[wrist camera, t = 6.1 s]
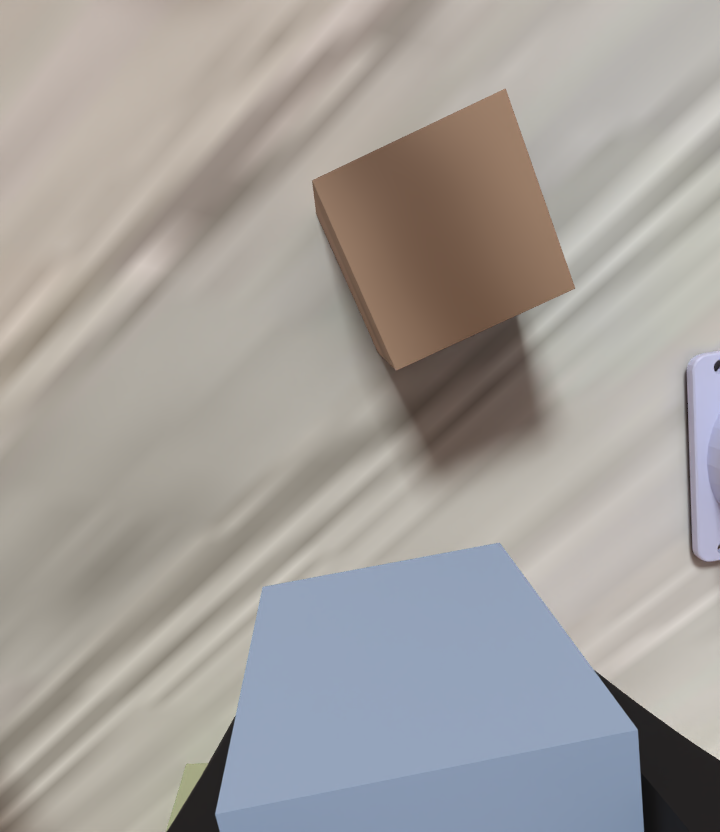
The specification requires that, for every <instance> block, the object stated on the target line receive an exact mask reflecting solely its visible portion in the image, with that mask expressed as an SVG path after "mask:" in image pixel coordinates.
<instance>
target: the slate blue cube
mask: <svg viewBox="0 0 720 832" xmlns="http://www.w3.org/2000/svg"><path fill="white" fill-rule="evenodd" d="M215 816H216V819H217V823H218V827H219V830H220V832H644V823H643V806H642V790H641V773H640V757H639V740H638V729H637V728H636V727H635V725H634V724H633V723H632V721H631V720H630V718H629V717H628V716H627V714H626V713H625V712H624V710H623V709H622V708H621V706H620V705H619V704H618V702H617V701H616V700H615V698H614V697H613V695H612V694H611V693H610V691H609V690H608V689H607V687H606V686H605V685H604V683H603V682H602V681H601V679H600V678H599V677H598V675H597V674H596V672H595V671H594V670H593V668H592V667H591V666H590V664H589V663H588V662H587V660H586V659H585V658H584V656H583V655H582V654H581V652H580V651H579V649H578V648H577V647H576V645H575V644H574V643H573V641H572V640H571V639H570V637H569V636H568V635H567V633H566V632H565V631H564V629H563V628H562V626H561V625H560V624H559V622H558V621H557V620H556V618H555V617H554V616H553V614H552V613H551V612H550V610H549V609H548V608H547V606H546V605H545V603H544V602H543V601H542V599H541V598H540V597H539V595H538V594H537V593H536V591H535V590H534V589H533V587H532V586H531V585H530V583H529V582H528V580H527V579H526V578H525V576H524V575H523V574H522V572H521V571H520V570H519V568H518V567H517V566H516V564H515V563H514V562H513V560H512V559H511V557H510V556H509V555H508V553H507V552H506V551H505V549H504V548H503V547H502V545H501V544H500V543H496V544H490V545H485V546H480V547H474V548H469V549H463V550H458V551H453V552H447V553H442V554H437V555H431V556H426V557H421V558H415V559H410V560H405V561H399V562H394V563H388V564H383V565H378V566H372V567H367V568H362V569H356V570H351V571H346V572H340V573H335V574H330V575H324V576H319V577H313V578H308V579H303V580H297V581H292V582H287V583H281V584H276V585H271V586H265V587H263V588H262V593H261V598H260V602H259V607H258V612H257V617H256V622H255V626H254V631H253V636H252V641H251V645H250V650H249V655H248V660H247V665H246V669H245V674H244V679H243V684H242V688H241V693H240V698H239V703H238V708H237V712H236V717H235V722H234V727H233V731H232V736H231V741H230V746H229V750H228V755H227V760H226V765H225V770H224V774H223V779H222V784H221V789H220V793H219V798H218V803H217V808H216V813H215Z"/></svg>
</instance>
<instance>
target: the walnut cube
mask: <svg viewBox="0 0 720 832" xmlns="http://www.w3.org/2000/svg"><path fill="white" fill-rule="evenodd" d="M312 183H313V191H314V199H315V207H316V214H317V217H318V219H319V221H320V223H321V226H322V228H323V230H324V232H325V235H326V237H327V239H328V241H329V244H330V246H331V248H332V250H333V253H334V255H335V257H336V259H337V262H338V264H339V266H340V268H341V270H342V273H343V275H344V277H345V279H346V282H347V284H348V286H349V288H350V291H351V293H352V295H353V297H354V300H355V302H356V304H357V306H358V309H359V311H360V313H361V315H362V318H363V320H364V322H365V324H366V327H367V329H368V331H369V333H370V336H371V338H372V340H373V342H374V345H375V347H376V349H377V351H378V353H379V354H380V355H381V356H382V357H383V358H384V359H385V360H386V361H387V362H388V363H389V364H390V365H391V366H392V367H393V368H394V369H395V370H396V371H397V370H399V369H401V368H403V367H405V366H408V365H410V364H412V363H414V362H416V361H418V360H421V359H423V358H425V357H427V356H429V355H431V354H434V353H436V352H438V351H440V350H442V349H445V348H447V347H449V346H451V345H453V344H455V343H458V342H460V341H462V340H464V339H466V338H468V337H471V336H473V335H475V334H477V333H479V332H482V331H484V330H486V329H488V328H490V327H492V326H495V325H497V324H499V323H501V322H503V321H505V320H508V319H510V318H512V317H514V316H516V315H518V314H521V313H523V312H525V311H527V310H529V309H532V308H534V307H536V306H538V305H540V304H542V303H545V302H547V301H549V300H551V299H553V298H555V297H558V296H560V295H562V294H564V293H566V292H569V291H571V290H573V289H575V286H574V284H573V281H572V278H571V275H570V272H569V269H568V266H567V263H566V261H565V258H564V255H563V252H562V249H561V246H560V243H559V240H558V238H557V235H556V232H555V229H554V226H553V223H552V220H551V218H550V215H549V212H548V209H547V206H546V203H545V200H544V197H543V195H542V192H541V189H540V186H539V183H538V180H537V177H536V175H535V172H534V169H533V166H532V163H531V160H530V157H529V154H528V152H527V149H526V146H525V143H524V140H523V137H522V134H521V131H520V129H519V126H518V123H517V120H516V117H515V114H514V111H513V109H512V106H511V103H510V100H509V97H508V94H507V91H506V89H503V90H501V91H499V92H497V93H495V94H493V95H491V96H489V97H487V98H485V99H482V100H480V101H478V102H476V103H474V104H472V105H470V106H468V107H466V108H464V109H461V110H459V111H457V112H455V113H453V114H451V115H449V116H447V117H445V118H442V119H440V120H438V121H436V122H434V123H432V124H430V125H428V126H426V127H424V128H421V129H419V130H417V131H415V132H413V133H411V134H409V135H407V136H405V137H402V138H400V139H398V140H396V141H394V142H392V143H390V144H388V145H386V146H384V147H381V148H379V149H377V150H375V151H373V152H371V153H369V154H367V155H365V156H363V157H360V158H358V159H356V160H354V161H352V162H350V163H348V164H346V165H344V166H341V167H339V168H337V169H335V170H333V171H331V172H329V173H327V174H325V175H323V176H320V177H318V178H316V179H314V180H312Z"/></svg>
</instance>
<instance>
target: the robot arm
mask: <svg viewBox="0 0 720 832" xmlns="http://www.w3.org/2000/svg"><path fill="white" fill-rule="evenodd" d="M718 360H719V361H720V351H714V352H708V353H703V354H699V355H696V356H694V357H693V358H692V359H691V360H690V362H689V363H688V366H687V391H688V423H689V454H690V486H691V517H692V548H693V553H694V554H695V555H696V556H697V557H698V558H700V559H701V560H703V561H705V562H712V561H718V560H720V549H718V546H719V545H720V368H719V369H718V370H717V371H716V372H715V371H714V364H715V363H716V362H717V361H718ZM717 549H718V550H717ZM593 670H594V669H593ZM594 671H595V670H594ZM595 672H596V671H595ZM596 674H597V675H598V677H599V678H600V679H601V681H602V682H603V683H604V685H605V686H606V687H607V689H608V690H609V691H610V693H611V694H612V695H613V697H614V698H615V700H616V701H617V702H618V704H619V705H620V706H621V708H622V709H623V710H624V712H625V713H626V714H627V716H628V717H629V718H630V720H631V721H632V723H633V724H634V725H635V727H636V728H637V729H638V740H639V757H640V773H641V790H642V806H643V823H644V832H720V760H718V759H717V758H715V757H714V756H712V755H711V754H709V753H707V752H706V751H704V750H703V749H701V748H700V747H698V746H697V745H695V744H694V743H692V742H691V741H689V740H688V739H687V738H685V737H684V736H682V735H681V734H679V733H678V732H676V731H675V730H674V729H672V728H671V727H669V726H668V725H667V724H665V723H664V722H663V721H661V720H660V719H658V718H657V717H656V716H654V715H653V714H651V713H650V712H649V711H647V710H646V709H645V708H643V707H642V706H640V705H639V704H638V703H636V702H635V701H634V700H632V699H631V698H630V697H628V696H627V695H626V694H625V693H623V692H622V691H621V690H619V689H618V688H617V687H615V686H614V685H613V684H612V683H610V682H609V681H608V680H606V679H605V678H604V677H603V676H601V675H600V674H599V673H597V672H596ZM235 717H236V716H235ZM235 717H234V719H233V721H232V723H231V724H230V726H229V728H228V730H227V731H226V733H225V735H224V737H223V739H222V740H221V742H220V744H219V746H218V748H217V749H216V751H215V753H214V755H213V756H212V758H211V760H210V761H209V763H208V765H207V767H206V768H205V770H204V772H203V773H202V775H201V777H200V779H199V780H198V782H197V783H196V785H195V787H194V788H193V790H192V792H191V793H190V795H189V797H188V798H187V800H186V801H185V803H184V805H183V806H182V808H181V810H180V811H179V813H178V814H177V816H176V818H175V819H174V821H173V822H172V824H171V825H170V827H169V829H168V830H167V832H220V830H219V827H218V823H217V819H216V816H215V813H216V808H217V803H218V798H219V793H220V789H221V784H222V779H223V774H224V770H225V765H226V760H227V755H228V750H229V746H230V741H231V736H232V731H233V727H234V722H235Z"/></svg>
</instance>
